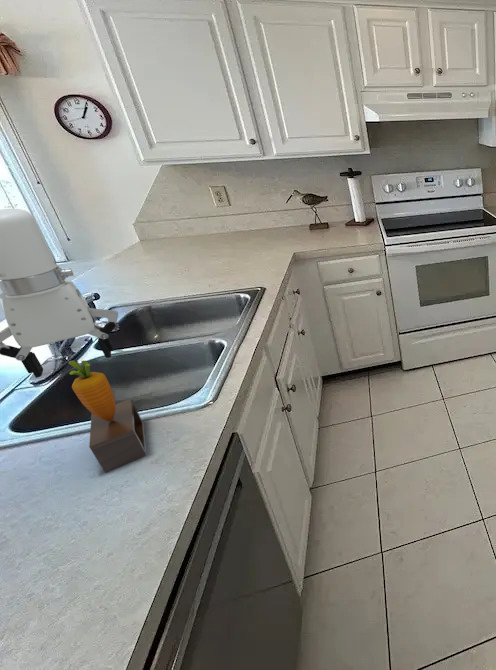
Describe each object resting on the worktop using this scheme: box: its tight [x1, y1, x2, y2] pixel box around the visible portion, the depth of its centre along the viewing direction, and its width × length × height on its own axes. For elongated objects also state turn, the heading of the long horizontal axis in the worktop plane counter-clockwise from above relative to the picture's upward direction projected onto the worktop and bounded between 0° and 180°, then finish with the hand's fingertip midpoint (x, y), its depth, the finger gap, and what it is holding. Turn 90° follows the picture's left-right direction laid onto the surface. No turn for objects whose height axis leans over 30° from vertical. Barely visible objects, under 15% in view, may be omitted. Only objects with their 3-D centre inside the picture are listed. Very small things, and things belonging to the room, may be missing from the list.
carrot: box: [68, 359, 116, 422], centre depth 82 cm, size 5×5×15 cm
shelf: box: [88, 398, 147, 474], centre depth 87 cm, size 13×7×7 cm, turn 41°
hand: (75, 364), depth 78 cm, fingers open, 9 cm apart
